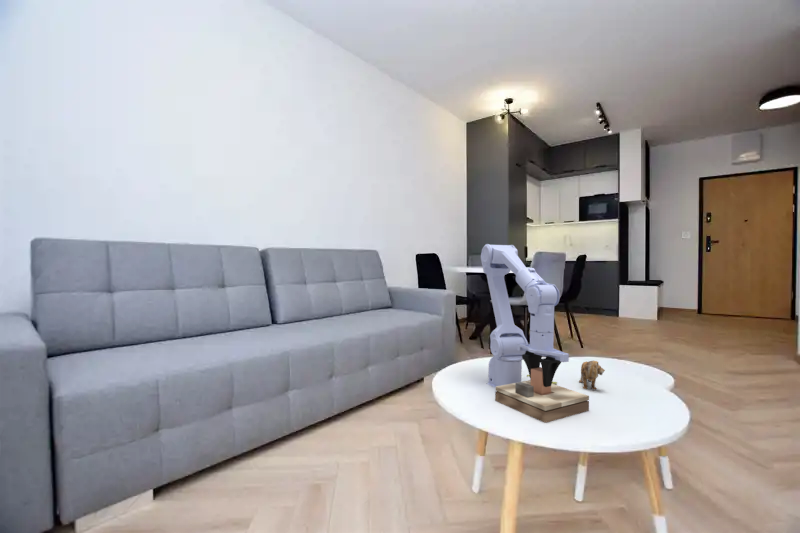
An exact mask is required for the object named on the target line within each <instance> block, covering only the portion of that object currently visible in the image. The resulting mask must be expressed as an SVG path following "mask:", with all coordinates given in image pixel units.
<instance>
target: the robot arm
mask: <svg viewBox="0 0 800 533" xmlns="http://www.w3.org/2000/svg"><path fill="white" fill-rule="evenodd" d="M480 261H481V267H482V272H483V273H484V274H485V275H486V279H487V284H488V289H489V293H490V298H491V303H492V304H491V305H492V308H493V314H494V317H495V318H494V319H495V324H496V327H495V329H493V330H492V331H491V333H490V334H489V337H490V339H489V340H490V344H489V345H490V346H489V348H490V352H491V354H492V357H491V358H490V359H489V362H488V378H487V379H488V380H487V383H486V385H488V386H491V387H493V388H495V387H496V386H501V385H507V384H512V383H517V382H522V371H523V370H522V366H523V365H522V363H523V361H524V363H525V366H526V368H527V371H528V375H530V377H529V379H530V380H531V369H532V368H538V367H542V370H543V385H544V387H549V386H551V384H552V382H554V377H555V374H556V372H557V369H559V366H560V365H561V364H562V363H567V362H569V360H570V358H569V356H570V353H567V352H564V351H561V350H559V349H556V348H554V343H555V342H554V340H555V336H554V335H555V330H554V329H555V307H556V306H557V305H558V304H559V302H560V298H561V293H560V290H559V289H558V287H557V286H556V284H554V283H550V282H549V283H548V282H546V281H545V279H544V278H542V277H541V275H539V274H538V273H537V271H536V269H535V268H534V267H526V265H525V264H524V262H523V260H521V258H520V256H519V251H518V249H517V248H516V246H515V245H514V244H489V243H485V245H484V246H483V247H482V248H481V253H480ZM510 272H512V273H513V274H514V275H515V282H516V283H517V285H518V286H519V287H520V289H522V291H523V292H524V294H525V301H526V302H527V303H526V304H527V306H528V307H527V310H528V313H530V315H529V316H530V320H529V342H528V340H527V338H526V336H525V334H524V331H523V329H521V328H520V327H518V326H517V325H515V322H514V317H513V312H512V309H511V308H512V307H511V303H510V298H509V294H508V289H507V285H506V281H505V275H507V274H508V275H509V273H510ZM544 357H545V358H544Z"/></svg>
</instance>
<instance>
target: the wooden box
mask: <svg viewBox="0 0 800 533" xmlns="http://www.w3.org/2000/svg"><path fill="white" fill-rule="evenodd" d="M494 393H495V395H494V397H495V398H494V401H495V402H498V403H500V404H501V405H504V406H506V407H508V408H510V409H512V410H515V411H517V412H520V413H522V414H525V415H526V416H529V417H531V418H533V419H535V420H538V421H540V422H542V423H544V424H545V423H551V422H554V421H557V420H562V419H566V418H568V417H569V418H570V417H572V416H575V415H580V414H583V413H586V412H589V411H590V402H589V401H590V400H587V401H583V402H579V403H575V404H571V405H567V406H563V407H559V408H555V409H551V410H547V411H544V410H542V409H539V408H537V407H535V406H532V405H530V404H527V403H525V402H522V401H520V400H518V399H515V398H513V397H510V396H508V395H505V394H503V393H501V392H498V391H496V390H495V392H494Z"/></svg>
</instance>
